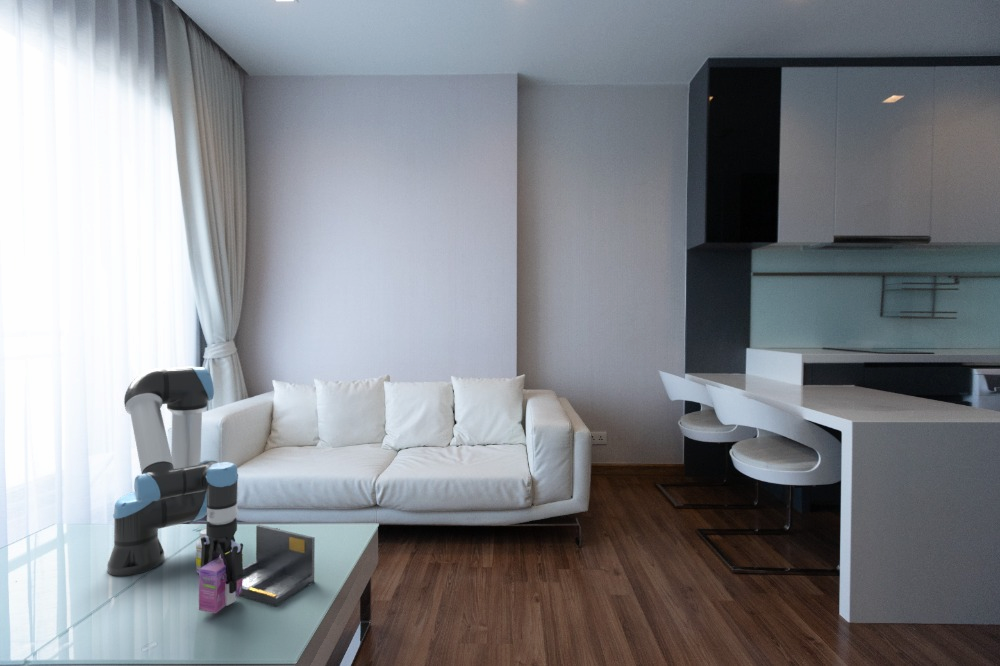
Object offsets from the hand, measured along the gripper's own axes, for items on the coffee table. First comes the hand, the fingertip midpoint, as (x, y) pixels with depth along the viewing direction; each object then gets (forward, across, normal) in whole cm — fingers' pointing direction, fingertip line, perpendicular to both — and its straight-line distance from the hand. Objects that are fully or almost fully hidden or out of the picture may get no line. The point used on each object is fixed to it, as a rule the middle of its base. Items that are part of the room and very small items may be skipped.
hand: (221, 599), depth 143 cm
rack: (+3, +2, +14) cm, 15 cm away
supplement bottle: (+3, -22, +14) cm, 26 cm away
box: (+1, 0, 0) cm, 1 cm away
